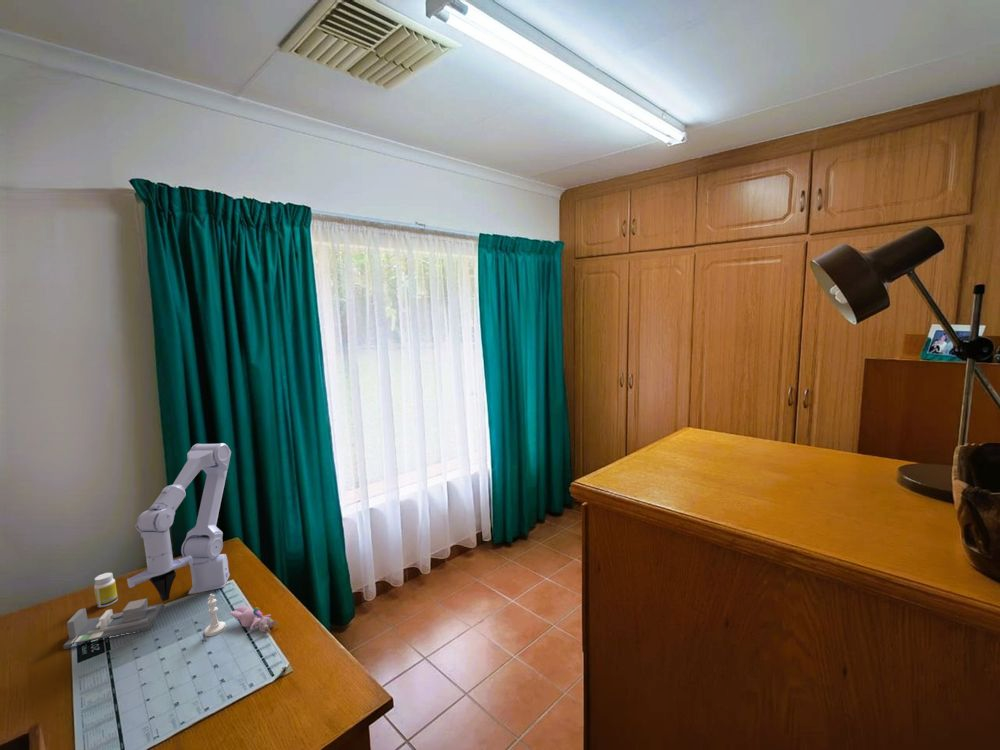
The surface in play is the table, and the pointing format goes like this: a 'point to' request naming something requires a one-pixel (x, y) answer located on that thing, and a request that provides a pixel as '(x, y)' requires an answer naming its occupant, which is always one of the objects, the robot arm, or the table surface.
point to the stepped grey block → (133, 611)
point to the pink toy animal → (253, 618)
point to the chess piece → (214, 619)
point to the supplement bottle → (105, 590)
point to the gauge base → (87, 630)
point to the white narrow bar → (105, 619)
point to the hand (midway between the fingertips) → (165, 599)
